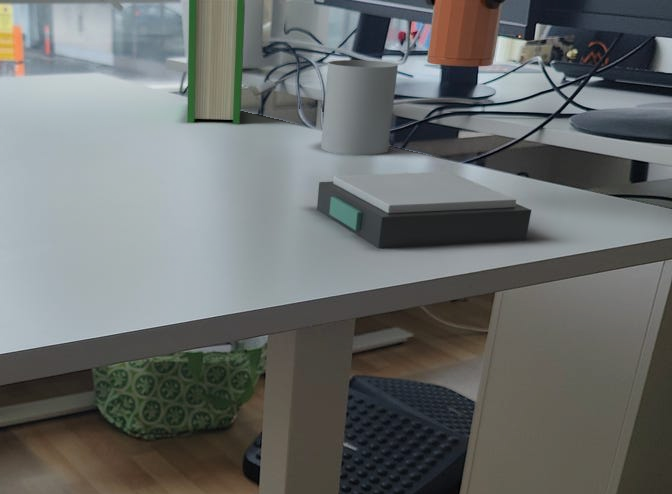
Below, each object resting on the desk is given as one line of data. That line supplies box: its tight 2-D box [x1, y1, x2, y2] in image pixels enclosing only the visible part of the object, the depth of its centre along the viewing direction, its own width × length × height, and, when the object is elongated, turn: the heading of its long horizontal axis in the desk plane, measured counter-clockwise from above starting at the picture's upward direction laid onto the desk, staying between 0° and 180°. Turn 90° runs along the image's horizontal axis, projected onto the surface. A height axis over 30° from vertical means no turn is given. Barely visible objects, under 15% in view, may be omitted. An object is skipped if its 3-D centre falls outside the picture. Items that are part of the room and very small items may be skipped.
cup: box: [320, 59, 399, 156], centre depth 118 cm, size 8×8×10 cm
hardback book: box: [186, 0, 246, 125], centre depth 138 cm, size 18×7×24 cm, turn 177°
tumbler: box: [426, 0, 504, 67], centre depth 87 cm, size 6×6×9 cm
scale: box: [316, 171, 532, 249], centre depth 86 cm, size 14×14×4 cm
